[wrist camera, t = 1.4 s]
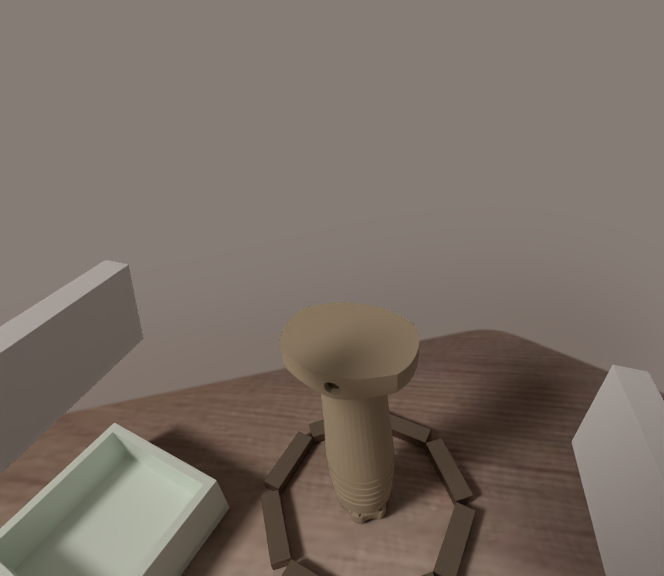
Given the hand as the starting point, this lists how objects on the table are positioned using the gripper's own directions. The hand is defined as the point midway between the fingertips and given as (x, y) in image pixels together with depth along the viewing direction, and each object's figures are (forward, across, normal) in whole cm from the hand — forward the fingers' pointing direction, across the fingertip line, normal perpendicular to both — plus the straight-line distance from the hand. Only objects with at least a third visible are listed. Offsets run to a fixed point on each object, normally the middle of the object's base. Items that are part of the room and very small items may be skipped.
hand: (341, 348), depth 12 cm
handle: (+8, +1, -20) cm, 21 cm away
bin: (+3, -14, -22) cm, 26 cm away
